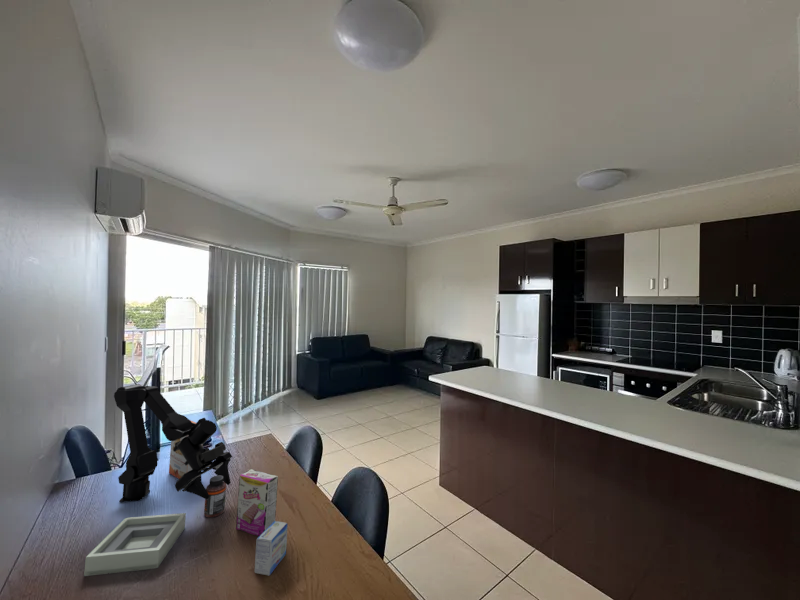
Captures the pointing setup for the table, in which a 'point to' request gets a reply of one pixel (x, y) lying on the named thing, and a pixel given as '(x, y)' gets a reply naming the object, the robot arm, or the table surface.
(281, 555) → the medicine box
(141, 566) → the bore box
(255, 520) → the candy bar box
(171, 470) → the cracker box
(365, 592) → the table surface
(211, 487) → the supplement bottle
